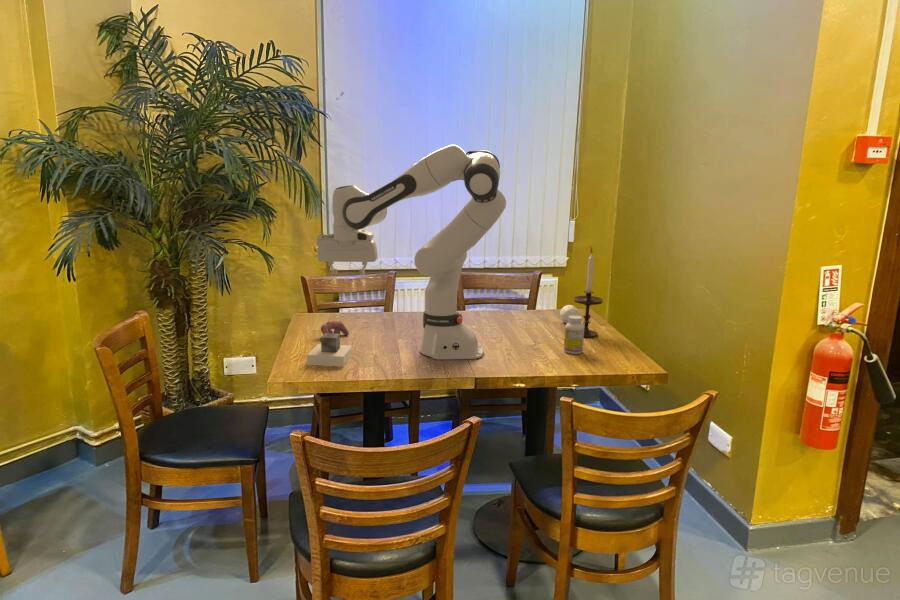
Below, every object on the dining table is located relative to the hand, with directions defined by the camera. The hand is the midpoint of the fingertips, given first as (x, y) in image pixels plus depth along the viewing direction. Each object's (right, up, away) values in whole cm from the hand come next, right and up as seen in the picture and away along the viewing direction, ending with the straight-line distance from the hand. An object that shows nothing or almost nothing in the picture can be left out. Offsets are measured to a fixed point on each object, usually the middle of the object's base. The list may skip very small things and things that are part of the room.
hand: (348, 274), depth 218 cm
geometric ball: (+84, -19, +48) cm, 99 cm away
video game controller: (-9, -23, +22) cm, 33 cm away
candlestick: (+88, -23, +31) cm, 96 cm away
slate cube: (-5, -25, -6) cm, 27 cm away
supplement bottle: (+79, -27, +9) cm, 84 cm away
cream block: (-5, -29, -5) cm, 30 cm away
